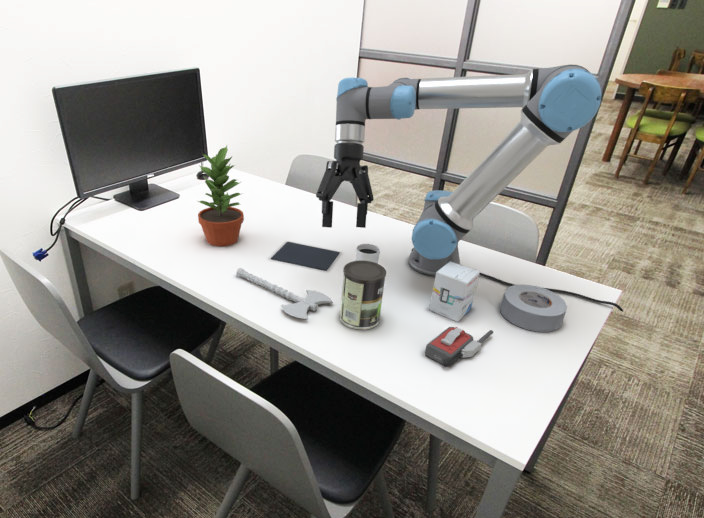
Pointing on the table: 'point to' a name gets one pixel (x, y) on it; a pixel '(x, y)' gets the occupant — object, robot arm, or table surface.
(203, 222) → the potted plant
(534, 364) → the table surface
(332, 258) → the felt pad
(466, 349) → the walkie-talkie
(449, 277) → the ink box
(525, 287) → the tape roll
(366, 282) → the coffee can
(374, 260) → the white coffee cup
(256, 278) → the axe
